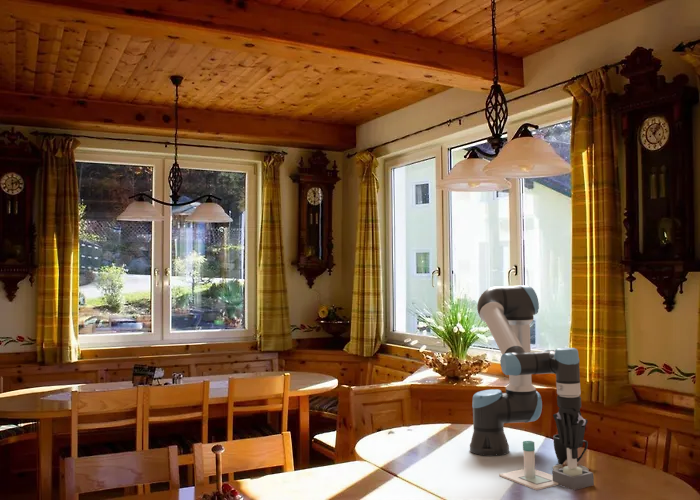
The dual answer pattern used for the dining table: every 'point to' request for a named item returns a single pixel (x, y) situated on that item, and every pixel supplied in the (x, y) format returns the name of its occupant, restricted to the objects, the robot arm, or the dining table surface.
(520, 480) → the sheet
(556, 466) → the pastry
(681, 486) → the dining table surface
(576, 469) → the button
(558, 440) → the mug
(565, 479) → the button housing
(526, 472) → the marker
